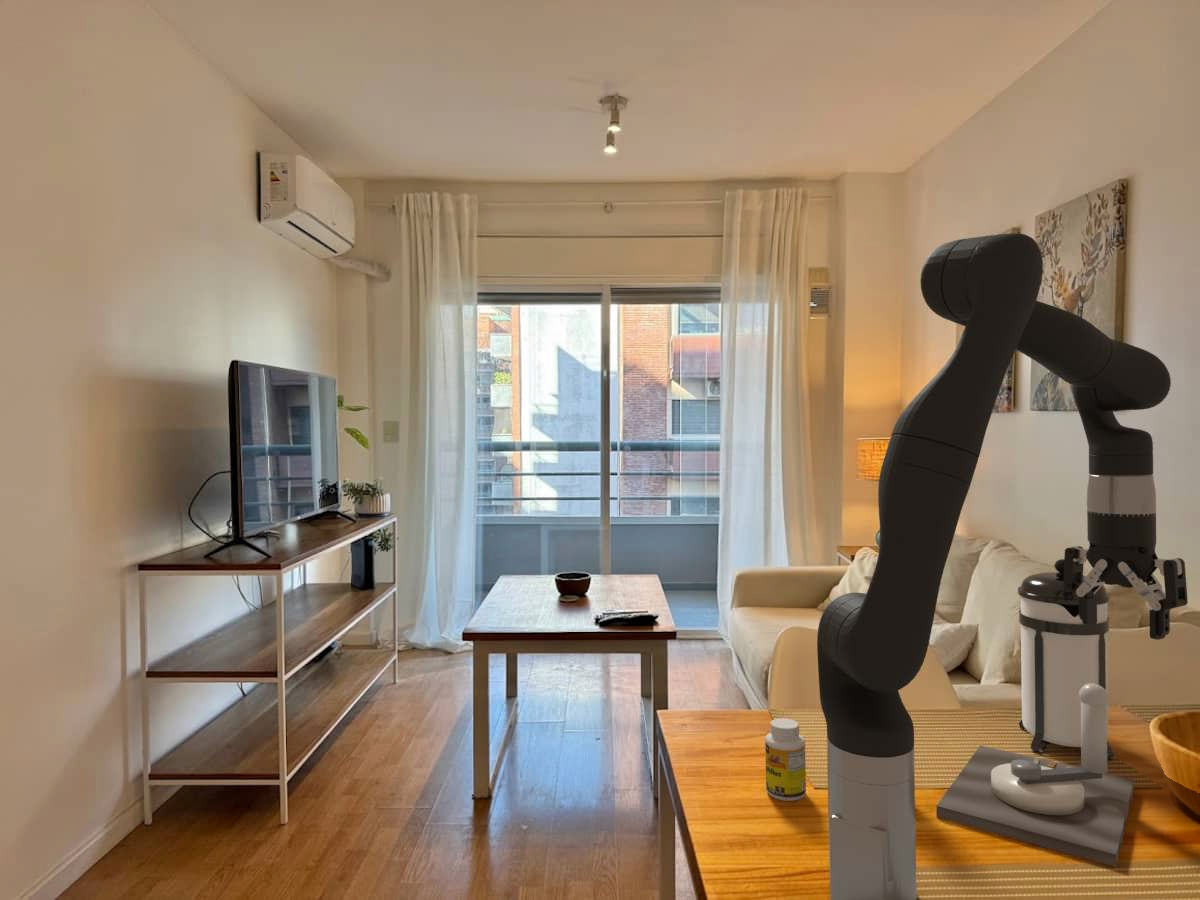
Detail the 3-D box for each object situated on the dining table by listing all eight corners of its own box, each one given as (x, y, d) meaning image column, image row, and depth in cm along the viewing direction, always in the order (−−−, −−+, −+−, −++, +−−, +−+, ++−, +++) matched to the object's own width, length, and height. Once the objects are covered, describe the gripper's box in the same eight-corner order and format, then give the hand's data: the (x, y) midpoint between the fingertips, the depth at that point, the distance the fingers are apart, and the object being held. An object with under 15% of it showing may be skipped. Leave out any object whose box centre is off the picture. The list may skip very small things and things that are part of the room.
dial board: (1116, 867, 90) (1116, 852, 90) (936, 816, 103) (936, 804, 103) (1134, 789, 109) (1133, 777, 109) (980, 754, 122) (980, 744, 121)
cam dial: (1025, 818, 99) (1023, 704, 98) (974, 779, 110) (973, 677, 109) (1138, 808, 100) (1137, 697, 100) (1076, 771, 111) (1075, 670, 111)
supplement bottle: (759, 788, 112) (757, 718, 112) (792, 782, 114) (791, 713, 114) (778, 805, 107) (777, 733, 107) (813, 799, 109) (812, 727, 108)
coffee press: (1146, 751, 121) (1145, 561, 120) (1075, 770, 115) (1073, 571, 115) (1046, 714, 137) (1044, 547, 137) (979, 729, 132) (977, 554, 131)
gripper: (1198, 511, 97) (1199, 639, 97) (1084, 503, 109) (1085, 616, 110) (1164, 515, 93) (1165, 648, 94) (1050, 506, 106) (1052, 623, 107)
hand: (1122, 631), depth 102 cm, fingers open, 8 cm apart
